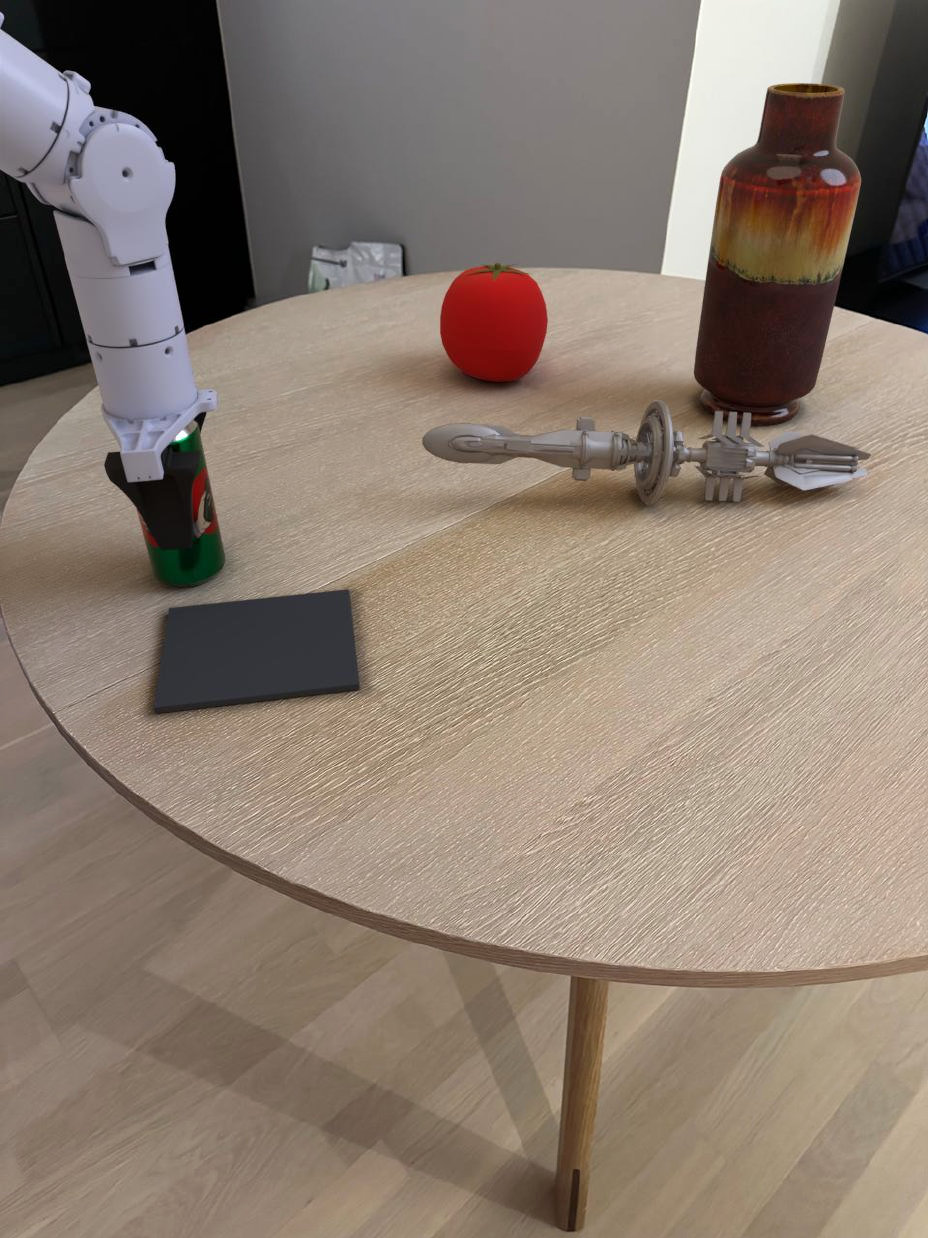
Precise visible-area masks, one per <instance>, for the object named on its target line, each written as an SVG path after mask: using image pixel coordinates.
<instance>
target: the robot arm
mask: <svg viewBox="0 0 928 1238" xmlns="http://www.w3.org/2000/svg"><path fill="white" fill-rule="evenodd" d="M4 20H5V15H4V14H3V13H2V12H1V11H0V171H2V172H4V173H5V174H7V175H9V176H10V177H12V178H14V179H15V180H17V181H19V182H21V183H24V184H26V186H27V188H28V189H29V191H30V192H31V193H32V195H33V196H34V197H35V198H36V199H37V200H38V201H39V202H40V203H41V204H43V205H49V206H54V207H55V208H56V210H53V216H54V221H55V225H56V229H57V231H58V237H59V239H60V242H61V247H62V251H63V254H64V260H65V264H66V269H67V271H68V275H69V279H70V282H71V287H72V290H73V294H74V297H75V301H76V305H77V309H78V312H79V316H80V317H79V318H80V320H81V321H80V322H81V324H82V328H83V332H84V335H85V341H86V344H87V347H88V351H89V356H90V359H91V363H92V366H93V370H94V375H95V378H96V382H97V386H98V389H99V390H98V391H99V393H100V397H101V401H102V402H101V405H100V411H101V414H102V417H103V419H104V420H103V421H104V422H105V425H106V426H107V427H108V429H109V431H110V433H111V435H112V436H113V438H114V440H115V441H116V443H117V444H118V446H119V448H120V451H109V452H107V454H106V457H105V460H104V463H103V467H104V469H105V473H106V475H107V478H108V480H109V481H110V482H111V484H113V485H115V486H116V487H117V488H118V489H119V490H121V492H122V493H123V494H124V495H125V496H126V497H127V498H128V499H129V500H130V503H132V504H133V505H134V507H135V509H136V508H137V509H136V511H137V510H138V511H139V513H140V515H141V516H142V518H143V520H144V522H145V523H146V525H147V527H148V529H149V531H150V533H151V535H152V536H153V538H154V540H155V541H156V543H157V545H158V546H159V548H160V549H161V550H162V551H164V550H175V549H185V548H191V547H192V543H193V536H194V518H193V499H192V496H193V482H194V479H195V476H196V473H197V469H198V466H199V462H200V456H201V450H196V451H185V452H173V451H172V448H171V447H169V448H167V446H168V445H169V444H170V443H171V441H172V440H173V439H174V438H175V437H176V436H177V435H178V434H179V433H180V432H181V431H182V430H183V429H184V428H185V427H186V426H187V425H188V424H189V423H190V422H191V421H192V420H193V419H195V420H196V421H197V423H198V425H199V430H200V435H201V434H202V429H203V426H204V423H205V419H206V417H207V415H208V414H207V413H210V412H214V411H215V410H217V408H218V403H219V397H218V393H217V391H216V390H215V389H212V388H208V389H201V388H197V385H196V380H195V374H194V370H193V365H192V359H191V355H190V350H189V344H188V339H187V335H186V330H185V326H184V325H185V324H184V318H183V314H182V310H181V303H180V300H179V294H178V289H177V284H176V279H175V274H174V269H173V263H172V258H171V253H170V248H169V237H168V234H167V228H166V217H167V213H168V210H169V207H170V206H171V203H172V201H173V198H174V193H175V188H176V169H175V168H176V167H175V164H174V162H173V161H172V162H171V161H169V160H167V159H166V158H165V155H164V152H163V149H162V147H160V146H158V145H157V143H156V142H157V141H158V139H157V137H156V136H155V135H154V133H153V132H152V131H151V130H150V128H149V127H148V126H147V125H146V124H144V123H143V122H142V121H141V120H139V118H137V117H135V116H133V115H132V114H128V113H126V112H123V111H119V110H114V109H111V108H105V107H100V106H95V105H94V101H93V98H92V96H91V95H90V94H89V93H90V91H91V88H92V87H91V83H90V82H89V80H87V79H86V78H84V76H82V75H80V74H79V73H77V72H76V71H72V70H65V71H63V72H61V71H60V70H57V69H56V68H55V67H54V66H52V65H51V64H49V63H48V62H47V61H45V60H44V59H43V58H41V57H40V56H38V55H37V54H36V53H34V52H33V51H32V50H30V49H29V48H27V47H26V46H25V45H23V44H22V43H21V42H19V41H18V40H16V39H15V38H13V37H12V36H11V35H10V34H8V33H7V32H6V31H4V30H2V29H1V28H2V25H3V22H4ZM57 209H58V210H57ZM59 210H60V211H59Z"/></svg>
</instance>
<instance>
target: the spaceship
mask: <svg viewBox="0 0 928 1238" xmlns="http://www.w3.org/2000/svg"><path fill="white" fill-rule="evenodd" d="M641 418H642V419H641V421H640V425H639V427H638V430H637V434H636V438H635V439H633V438H631V437H630V435H629V434H627V433H625V432H623V431H615V430H611V431H602V430H601V431H599V430H595V427H596V420H595V419H593V418H592V417H586V416H581V417H579V418H577V419H576V425H575V426H576V427H575V429H563V428H562V429H559V430H553V431H549V432H545V433H539V434H534V435H532V434H531V435H530V434H520V433H517V432H515V431H512V430H511V429H509V428H507V427H505V426H504V425H500V424H486V423H484V424H483V423H471V422H454V423H447V424H443V425H439V426H436V427H434V428H432V429H429V430H428V431H426V433H425V434H424V435H423V436H422V440H421V443H422V444H421V445H422V446H423V448H424V449H425V450H426V451H427V452H428V453H429V454H431V455H432V456H434V457H435V458H439V459H442V460H444V461H448V462H452V463H458V464H479V465H480V464H481V465H501V464H504V463H507V462H509V461H512V460H514V459H517V458H524V459H525V458H526V459H535V460H538V461H541V462H545V463H548V464H551V465H554V466H557V467H560V468H566V469H567V468H568V469H570V468H571V469H572V473H571V478H572V479H573V480H574V481H576V482H587V481H588V480H590V478H591V471H592V470H606V471H607V470H608V471H611V472H615V471H617V472H620V471H623V470H625V469H627V467H628V466H632V465H633V471H634V478H635V484H636V489H637V490H636V491H637V493H638V497H639V498H640V500H641V502H643V504H645V505H648V506H651V505H653V504H655V503H657V502H658V501H659V500H660V498H661V497H662V495H663V493H664V491H665V488H666V487H667V484H668V481H669V479H670V477H671V478H677V477H678V476H679V474H680V472H681V469H682V467H681V465H682V464H685V462H686V463H691V462H692V463H698V464H699V465H694V466H693V467H694V468H695V469H696V470H697V471H698V472H699V473H701V475H703V477H704V478H705V486H704V500H705V501H713V497H714V490H715V487H716V481H717V479H719V485H718V499H717V500H718V501H720V502H727V498H728V492H729V488H730V482H731V480H732V479H733V482H732V498H731V501H732V502H737V503H738V502H739V503H740V502H741V497H742V492H743V488H744V487H743V486H744V483H745V480H749V479H753V478H754V479H755V478H760V475H748V476H747V475H745V474H740V473H750V474H751V473H752V472H753V471H754V470H755V468H756V467H764V468H765V471H764V473H763V475H764V476H766V478H769V479H771V480H772V481H774V482H775V483H776V484H779V485H780V486H786V485H790V486H793V487H794V488H796V489H798V490H800V491H802V492H806V491H810V490H815V489H819V488H824V487H828V486H834V485H837V484H842V483H847V482H850V481H851V480H855V479H857V478H862V477H867V476H868V474H869V473H868V470H867V469H866V468H864V467H860V466H858V463H859V461H865V460H868V459H869V458H871V456H872V454H871V453H870V452H867V451H863V450H861V449H860V448H859V447H856V446H852V445H849V444H847V443H843V442H840V441H837V440H834V439H830V438H828V437H824V436H820V435H817V434H815V433H810V434H802V433H799V432H795V431H792V430H788V431H786V432H784V433H782V434H780V435H778V436H776V437H774V438H772V439H769V440H768V447H769V450H758V448H765V446H764V445H763V444H762V443H760V442H759V441H757V440H756V439H754V437H753V436H751V426H752V425H751V413H743V418H742V424H740V429H739V435H737V424H738V423H737V412H729V417H728V421H726V422H727V424H726V427H725V433H724V434H722V433H723V421H724V420H723V411H715V415H714V416H713V421H712V427H711V432H710V433H708V434H707V435H704V436H702V437H698V438H697V440H705V441H704V442H703V443H702V446H701V447H700V448H697V447H696V448H694V447H693V448H692V447H691V446H688V447H687V446H686V445H684V444H683V443H684V442H685V437H684V433H683V432H682V431H681V430H674V426H673V422H672V418H671V414H670V410H669V408H668V406H667V404H666V403H665V402H664V401H662V400H659V399H656V400H654V401H652V402H650V403H649V405H647V408H646V409H645V411H644V413H643V416H642V417H641ZM707 439H710V440H707ZM744 440H746V441H748V442H746V441H744ZM710 472H711V473H710Z"/></svg>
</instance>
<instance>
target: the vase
mask: <svg viewBox="0 0 928 1238" xmlns="http://www.w3.org/2000/svg"><path fill="white" fill-rule="evenodd" d="M845 93H846V90H845V88H843V87H842V86H838V85H832V84H823V83H811V82H810V83H808V82H794V83H793V82H792V83H778V84H774V85H769V86H768V87H767V88H766V93H765V98H764V103H763V109H762V114H761V121H760V127H759V133H758V137H757V140H756V142H755V144H754V145H752V146H749V147H747V148H745V149H743V150H742V151H740V152H737V154H735V155H734V156H733V157H732V158H731V159H730V160H729V161H728V162H727V163H726V164H725V166H724V167H723V169H722V171H721V174H720V177H719V184H718V191H717V194H716V195H717V197H716V201H715V209H714V217H713V224H712V230H711V237H710V238H711V239H710V244H709V252H708V258H707V267H706V275H705V281H704V287H703V296H702V302H701V310H700V316H699V317H700V318H699V325H698V332H697V333H698V334H697V340H696V348H695V355H694V356H695V357H694V367H693V376H694V379H695V381H696V383H698V385H699V386H700V387H701V388H703V389H704V390H703V391H702V392H701V395H700V397H699V404H700V406H701V408H702V409H703V410H704V411H705V412H706V413H708V414H709V415H711V416H713V417H714V415H715V411H723V420H722V421H725V422H728V417H729V412H737V423H736V424H739V425H741V424H742V418H743V413H751V425H750V426H774V425H780V424H783V423H786V422H789V421H791V420H792V419H794V418H795V417H796V416H797V415H798V414H799V411H800V401H799V399H802V398H803V397H805V396H807V395H809V394H810V393H811V392H812V391H813V390H814V388H815V387H816V383H817V380H818V376H819V372H820V369H821V365H822V362H823V356H824V351H825V348H826V343H827V339H828V334H829V330H830V325H831V322H832V317H833V312H834V309H835V305H836V300H837V295H838V291H839V286H840V282H841V277H842V273H843V268H844V264H845V259H846V255H847V251H848V246H849V241H850V237H851V232H852V228H853V224H854V219H855V213H856V210H857V205H858V201H859V200H858V199H859V195H860V189H861V186H862V176H861V172H860V170H859V168H858V166H857V164H856V163H855V161H854V160H853V159H852V157H850V156H849V155H848V154H846V153H845V152H844V151H842V150H840V149H839V148H838V147H837V137H838V133H839V132H838V131H839V126H840V121H841V117H842V116H841V115H842V111H843V110H842V109H843V104H844V100H845Z"/></svg>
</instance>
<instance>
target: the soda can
mask: <svg viewBox="0 0 928 1238" xmlns="http://www.w3.org/2000/svg"><path fill="white" fill-rule="evenodd" d="M169 447H171V448H172V451H173V452H185V451H196V450H201V456H200V462H199V466H198V469H197V473H196V476H195V479H194V482H193V496H192V499H193V518H194V536H193V543H192V547H191V548H185V549H175V550H164V551H162V550H161V549H160V548H159V546H158V545H157V543H156V541H155V540H154V538H153V536H152V535H151V533H150V531H149V529H148V527H147V525H146V523H145V522H144V520H143V518H142V516H141V515H140V513H139V511H138V510H137V508H136V507H135V509H136V513H137V517H138V521H139V524H140V528H141V532H142V535H143V540H144V543H145V548H146V550H147V555H148V558H149V562H150V566H151V570H152V573H153V575H154V577H156V578H157V580H159V581H160V582H163V583H164V584H166V585H168V586H172V587H175V588H176V587H177V588H186V587H187V588H188V587H189V588H191V587H195V586H199V585H202V584H205V583H207V582H210V581H211V580H212V579H214V578H215V577H216V576H218V574H219V573H220V572H221V571H222V569H223V567H224V566H225V563H226V555H225V549H224V543H223V538H222V534H221V529H220V524H219V519H218V515H217V510H216V505H215V501H214V500H215V499H214V495H213V490H212V485H211V481H210V480H211V479H210V475H209V470H208V466H207V461H206V456H205V455H206V454H205V450H204V446H203V441H202V435H201V434H200V430H199V425H198V423H197V421H196V420H195V419H193V420H192V421H191V422H190V423H189V424H188V425H187V426H186V427H185V428H184V429H183V430H182V431H181V432H180V433H179V434H178V435H177V436H176V437H175V438H174V439H173V440H172V441H171V443H170V444H169V445H168V446H167V448H169Z"/></svg>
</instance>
